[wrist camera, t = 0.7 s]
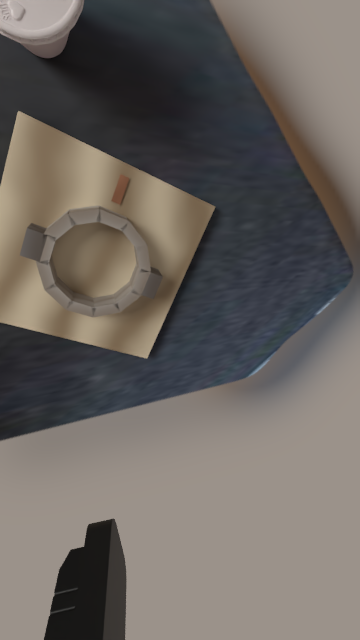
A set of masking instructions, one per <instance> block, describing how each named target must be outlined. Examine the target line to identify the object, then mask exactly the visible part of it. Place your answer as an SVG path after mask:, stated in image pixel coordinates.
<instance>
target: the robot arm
mask: <svg viewBox="0 0 360 640" xmlns="http://www.w3.org/2000/svg"><path fill="white" fill-rule="evenodd" d="M54 593H55V596H54V597H53V601H52V605H51V610H50V616H49V619H48V624H47V628H46V633H45V637H44V640H125V617H126V616H125V615H126V566H125V558H124V554H123V549H122V546H121V541H120V537H119V534H118V529H117V525H116V522H115V519H110V520H106V521H101V522H97V523H92V524H89V525H88V528H87V533H86V538H85V545H84V547H81V548H77V549H72V550H70V552H69V554H68V556H67V558H66V559H65V561H64V563H63V564H62V566H61V568H60V570H59V574H58V578H57V583H56V587H55V592H54Z"/></svg>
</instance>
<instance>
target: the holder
mask: <svg viewBox="0 0 360 640" xmlns="http://www.w3.org/2000/svg"><path fill="white" fill-rule="evenodd" d="M214 209H215V206H213V205H211V204H209V203H207V202H204V201H202V200H200V199H198V198H196V197H194V196H192V195H190V194H188V193H186V192H184V191H182V190H180V189H178V188H176V187H174V186H172V185H170V184H168V183H165V182H163V181H161V180H159V179H157V178H155V177H153V176H151V175H149V174H147V173H145V172H143V171H141V170H139V169H137V168H135V167H133V166H131V165H129V164H126V163H124V162H122V161H120V160H118V159H116V158H114V157H112V156H110V155H108V154H106V153H104V152H102V151H100V150H98V149H96V148H94V147H92V146H90V145H87V144H85V143H83V142H81V141H79V140H77V139H75V138H73V137H71V136H69V135H67V134H65V133H63V132H61V131H59V130H57V129H55V128H53V127H50V126H48V125H46V124H44V123H42V122H40V121H38V120H36V119H34V118H32V117H30V116H28V115H26V114H24V113H22V112H20V111H18V114H17V118H16V122H15V126H14V131H13V135H12V139H11V143H10V148H9V152H8V156H7V160H6V165H5V169H4V173H3V177H2V181H1V186H0V322H1V323H5V324H9V325H13V326H17V327H22V328H26V329H30V330H34V331H38V332H42V333H46V334H50V335H54V336H58V337H62V338H66V339H70V340H74V341H78V342H82V343H86V344H90V345H94V346H98V347H102V348H107V349H111V350H115V351H119V352H123V353H127V354H131V355H135V356H139V357H143V358H148V355H149V353H150V351H151V349H152V347H153V344H154V342H155V340H156V338H157V335H158V333H159V331H160V329H161V327H162V324H163V322H164V320H165V318H166V315H167V313H168V311H169V309H170V307H171V304H172V302H173V300H174V298H175V295H176V293H177V291H178V289H179V287H180V284H181V282H182V280H183V278H184V275H185V273H186V271H187V269H188V267H189V264H190V262H191V260H192V258H193V255H194V253H195V251H196V249H197V247H198V244H199V242H200V240H201V238H202V235H203V233H204V231H205V229H206V227H207V224H208V222H209V220H210V218H211V215H212V213H213V211H214Z"/></svg>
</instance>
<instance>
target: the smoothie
mask: <svg viewBox="0 0 360 640" xmlns="http://www.w3.org/2000/svg"><path fill="white" fill-rule="evenodd" d="M83 4H84V0H0V33H1V34H2V35H4V36H6V37H8V38H10V39H12V40H15V41H17V42H19V43H21V44H22V45H23V46H24V47H25V48H27V49H28V50H29V51H30V52H32V53H33V54H35V55H36V56H39V57H42V58H53V57H55V56H57V55H59V54H60V53H61V52H62V51H63V49H64V48H65V46H66V43H67V39H68V36H69V32H70V30H71V29H72V28H73V27H74V26H75V24H76V22H77V20H78V18H79V16H80V14H81V12H82V9H83Z"/></svg>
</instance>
